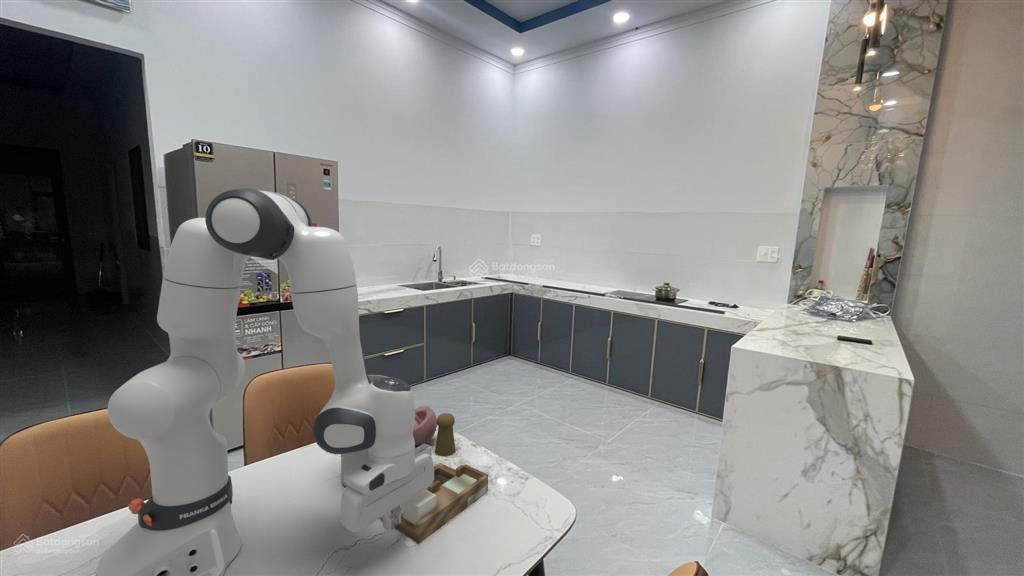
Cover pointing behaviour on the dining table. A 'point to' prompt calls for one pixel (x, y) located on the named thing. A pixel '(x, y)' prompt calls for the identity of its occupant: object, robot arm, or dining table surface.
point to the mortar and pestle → (424, 425)
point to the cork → (445, 435)
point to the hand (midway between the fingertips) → (392, 525)
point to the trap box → (447, 499)
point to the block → (419, 506)
